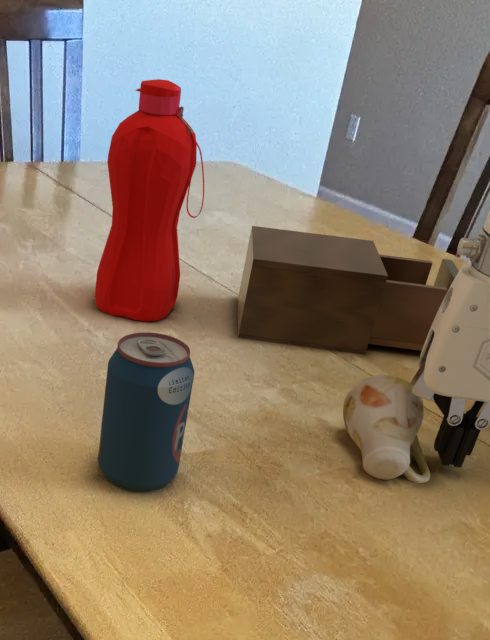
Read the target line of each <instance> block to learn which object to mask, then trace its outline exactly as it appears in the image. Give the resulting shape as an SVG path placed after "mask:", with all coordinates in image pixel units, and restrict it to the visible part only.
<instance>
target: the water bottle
mask: <svg viewBox="0 0 490 640" xmlns="http://www.w3.org/2000/svg"><path fill="white" fill-rule="evenodd" d="M135 92H139V99H138V110H137V111H135V112H133V113H131V114H129V115H128V116H127V117H126V118H125V119H123V120H122V121H120V123H119V124H118V125H117V127H116V129H115V130H114V132H113V134H112V135H111V139H110V144H109V149H108V153H107V171H108V177H109V178H108V179H109V187H110V188H109V189H110V196H111V197H110V198H111V205H112V206H111V207H112V213H111V215H112V216H111V225H110V230H109V232H108V235H107V239H106V241H105V245H104V248H103V252H102V255H101V258H100V261H99V264H98V267H97V271H96V279H95V288H94V299H95V305H96V307H97V308H98V309H100V311H102V312H103V313H105V314H108V315H110V316H114V317H119V318H126V319H129V320H134V321H138V322H146V323H147V322H157V321H160V320H162V319H164V318H166V317H167V316H168V315H169V314H170V312H171V310H173V309H174V307H175V305H176V302H177V299H178V295H179V286H180V279H181V266H180V251H179V236H178V235H179V233H178V225H179V219H180V213H181V210H182V207H183V204H184V202H185V198H186V212H187V214H188V216H189V217H191V218H192V219H193V218H194V219H195V218H197V217H199V215H200V214H201V212H202V210H203V206H204V200H205V172H204V161H203V155H202V153H203V152H202V150H201V147H200V146H199V145H200V144H199V143H198V141H197V136H196V133H195V131H194V130H193V127H192V126H191V125H190V124H189V122H187V121H186V119H185V118H184V109H185V107H184V106H180V104H181V97H182V87H181V86H179V85H178V84H176V83H175V82H173V81H170V80H168V79H160V78H157V79H148V80H147V79H146V80H142V81H141V82H140V88H137V89H136V90H135ZM197 148H198V150H197ZM197 151H198V152H199V156H200V163H201V172H202V174H201V175H202V200H201V206H200V210H199V212H198V214H197V215H192V214H191V213H190V211H189V196H190V190H191V189H190V188H191V184H192V179H193V175H194V172H195V170H196V166H197V158H198V157H197Z"/></svg>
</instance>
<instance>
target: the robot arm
mask: <svg viewBox="0 0 490 640" xmlns="http://www.w3.org/2000/svg"><path fill="white" fill-rule="evenodd" d="M457 244H458V245H457V247H456V249H457V250H456V254H457V255H458V256H464V257H465V258H466V259H469V261H470V264H463V265H462V266H461V267H460V269H458V270H459V272H458V274H457V275H456V277H455V279H454V281H453V282H452V284H451V286H450V288H449V290H448V292H447V294H446V295H445V297H444V299H443V301H442V303H441V305H440V307H439V310H438V312H437V314H436V316H435V319H434V321H433V323H432V325H431V328H430V330H429V333H428V335H427V338H426V340H425V343H424V346H423V349H422V351H420V356H419V359H418V360H419V361H418V370H417V371H416V373H415V374H414V376H413V377H412V380H411V381H409V382H410V388H411V391H412V393H413V394H414V395H416V396H418V397H421V398H422V400H423V399H424V400H426V401H428V402H429V401H431V402H432V403H435V405H436V407H437V408H438V409H439V411H440V412H441V413H442V415H443V417H442V419H441V423H440V425H439V428H438V431H437V433H436V436H435V438H434V443H433V449H434V451H435V452H437V454H438V455H437V456H438V457H439V460H440V463H441V465H442V466H446V467H449V466H453V467H454V468H462V466H463V465H464V462H465V460H466V457H467V456H468V457H471V455H472V453H473V451H474V449H475V446H476V444H477V441H478V439H479V436H480V433H481V431H483V430H486V429H487V428H488V427H489V426H490V209H489V210H488V213H487V216H486V218H485V221H484V225H483V227H480V229H479V231H478V233H477V234H476V236H471V237H470V238H468V237H461V238H460V239H459V242H458V243H457ZM467 400H469V401H472V402H471V403H470V406H469V407H468V408H467V409H468V410H466V411H465V408H466V403H467Z"/></svg>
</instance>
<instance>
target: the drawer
mask: <svg viewBox="0 0 490 640" xmlns="http://www.w3.org/2000/svg"><path fill="white" fill-rule="evenodd" d="M379 256H380V258H381V260H382V263H383V265H384V268H385V270H386V273H387V275H388V277H387V281H386V284H385V288H384V291H383V294H382V298H381V301H380V305H379V308H378V312H377V315H376V318H375V322H374V325H373V329H372V332H371V336H370V339H369V342H368V345H375V346H382V347H388V348H389V347H390V348H397V349H405V350H412V351H420V352H422V349H423V346H424V343H425V340H426V338H427V335H428V333H429V330H430V328H431V325H432V323H433V321H434V319H435V316H436V314H437V312H438V310H439V307H440V305H441V303H442V301H443V299H444V297H445V295H446V294H447V292H448V290H449V288H450V286H451V284H452V282H453V281H454V279H455V277H456V275H457V274H458V272H459V270H460V269H458V267H457V265H456V263H455V262H454V260H453V259H446V258H442V259H441V262H440V265H439V268H438V270H437V274H436V277H435V280H434V283H433V285H431V284H430V285H428V284H427V283H428V279H429V275H430V273H431V270H432V267H433V261H432V260H428V259H427V260H426V259H419V258H411V257H402V256H397V255H395V256H394V255H387V254H380V253H379Z"/></svg>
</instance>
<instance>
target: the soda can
mask: <svg viewBox="0 0 490 640" xmlns="http://www.w3.org/2000/svg"><path fill="white" fill-rule="evenodd" d="M116 346H117V347H116V349H115V350H114V351H113V353H112V355H111V356H110V358H109V360H108V362H107V369H106V379H105V386H104V387H105V389H104V397H103V407H102V416H101V424H100V425H101V426H100V434H99V444H98V452H97V453H98V454H97V465H98V467H99V469H100V471H101V473H102V475H103V477H104V478H105V479H106V480H107V482H109V483H110V484H112V485H114V486H115V487H117V488H120V489H123V490H126V491H129V492H136V493H137V492H138V493H147V492H148V493H149V492H154V491H158V490H161V489H163V488H165V487H166V486H167V485H169V484H170V483H171V482H172V480H174V479H175V477H176V476H177V474H178V472H179V468H180V463H181V456H182V449H183V445H184V437H185V433H186V425H187V421H188V420H187V419H188V414H189V409H190V402H191V397H192V390H193V385H194V380H195V379H194V378H195V368H194V365H193V361H192V360H191V348H190V347H189V345H188V344H187V343H185V342H184V341H182V340H181V339H179V338H176V337H174V336H171V335H168V334H165V333H164V334H163V333H159V332H149V331H148V332H147V331H146V332H143V331H142V332H134V333H133V332H132V333H130V334H127V335H124V336H122V337H121V338H119V340H118V341H117V345H116Z"/></svg>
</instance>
